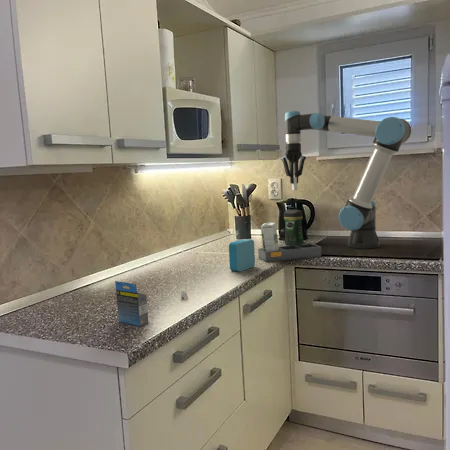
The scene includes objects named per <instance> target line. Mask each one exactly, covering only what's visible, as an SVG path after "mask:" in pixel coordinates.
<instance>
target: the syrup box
mask: <svg viewBox="0 0 450 450" xmlns="http://www.w3.org/2000/svg"><path fill="white" fill-rule="evenodd" d="M260 233H261V240H262V248H263V249H264V251H266V252H269V251H279V247H280V245H279V238H278V232H277V225H276V222H265V223H263V224H262V225H260Z"/></svg>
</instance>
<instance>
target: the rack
mask: <svg viewBox="0 0 450 450" xmlns="http://www.w3.org/2000/svg"><path fill="white" fill-rule="evenodd" d="M257 254H258V256H257V257H258V259H259V260H261V261H263V262H264V263H271V262H280V261H287V260H288V261H290V260H299V259H308V258H319V257H322V246H320V245H317V244H315V243H303V244H301V245H282V246H281V245H280V246H279V251H269V252H266V251H264V249H263V247H262V248H258V249H257Z"/></svg>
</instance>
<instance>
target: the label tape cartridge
mask: <svg viewBox="0 0 450 450" xmlns="http://www.w3.org/2000/svg"><path fill="white" fill-rule="evenodd" d="M114 284H115V292H116V294H115V295H116V303H117V305H116V306H117V314H118V315H117V317H118V322H119V323H124V324H127V325H131V326H132V325H133V326H137V327H142V326H144V325H147V324H148V323H149V313H148V310H149V309H148V299H147V298H148V297H147V294H144V293H141V292H138V289H137V283H132V282H131V283H130V282H123V281H118V280H115V281H114ZM125 287H127V288H125Z"/></svg>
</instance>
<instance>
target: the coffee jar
mask: <svg viewBox="0 0 450 450" xmlns="http://www.w3.org/2000/svg"><path fill="white" fill-rule="evenodd" d="M303 218H304V217H303V211H302V210H299V209H286V210H284V213H283V220H284V224H285V225H284V226H285V227H284V228H285V229H284V245H285V246H291V245H301V244H305V243H304V235H303V226H302V225H303Z"/></svg>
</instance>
